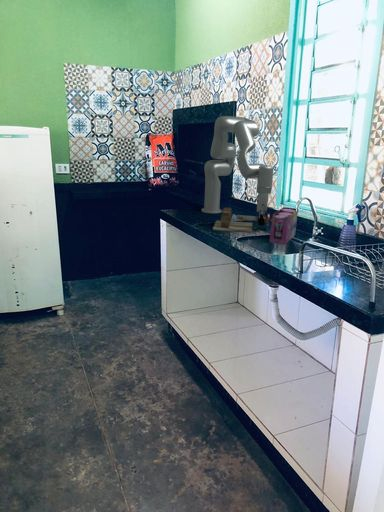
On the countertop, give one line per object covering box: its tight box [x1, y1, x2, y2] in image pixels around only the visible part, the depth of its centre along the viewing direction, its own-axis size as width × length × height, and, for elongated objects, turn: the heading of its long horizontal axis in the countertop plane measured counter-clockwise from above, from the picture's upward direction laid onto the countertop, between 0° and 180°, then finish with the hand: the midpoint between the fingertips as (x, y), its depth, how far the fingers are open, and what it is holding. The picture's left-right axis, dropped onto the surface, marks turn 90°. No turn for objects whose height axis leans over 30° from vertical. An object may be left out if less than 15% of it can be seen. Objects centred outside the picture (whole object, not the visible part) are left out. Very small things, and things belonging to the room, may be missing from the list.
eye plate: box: [212, 207, 253, 234], centre depth 217 cm, size 18×20×9 cm
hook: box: [235, 213, 272, 227], centre depth 215 cm, size 6×19×6 cm, turn 81°
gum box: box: [268, 206, 299, 246], centre depth 198 cm, size 24×8×14 cm, turn 155°
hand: (260, 224), depth 216 cm, fingers closed on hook, 2 cm apart
